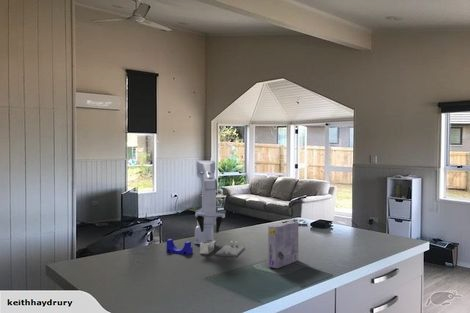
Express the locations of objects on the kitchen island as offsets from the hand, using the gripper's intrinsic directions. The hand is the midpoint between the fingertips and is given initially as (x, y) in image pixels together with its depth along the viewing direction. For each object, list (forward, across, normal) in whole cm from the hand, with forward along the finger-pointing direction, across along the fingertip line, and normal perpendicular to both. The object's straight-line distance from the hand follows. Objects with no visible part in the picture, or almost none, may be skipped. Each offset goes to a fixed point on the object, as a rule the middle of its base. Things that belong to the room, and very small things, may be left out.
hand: (209, 231), depth 200 cm
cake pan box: (+10, +37, -12) cm, 40 cm away
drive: (+10, -1, -1) cm, 10 cm away
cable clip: (+10, -13, -6) cm, 18 cm away
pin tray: (+10, +10, +2) cm, 14 cm away
